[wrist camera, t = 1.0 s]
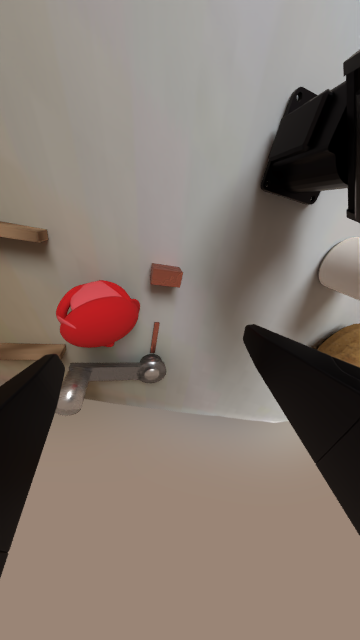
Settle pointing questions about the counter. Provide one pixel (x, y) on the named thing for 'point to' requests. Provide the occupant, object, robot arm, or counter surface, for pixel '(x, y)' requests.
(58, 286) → the counter surface
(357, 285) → the can
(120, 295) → the cap
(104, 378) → the crank
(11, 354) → the bay
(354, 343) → the potato
